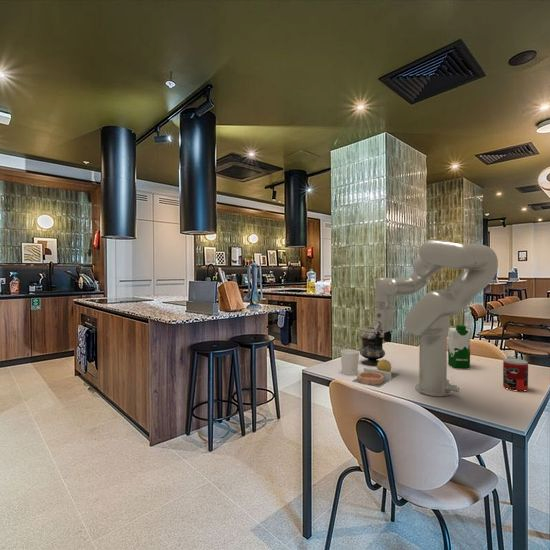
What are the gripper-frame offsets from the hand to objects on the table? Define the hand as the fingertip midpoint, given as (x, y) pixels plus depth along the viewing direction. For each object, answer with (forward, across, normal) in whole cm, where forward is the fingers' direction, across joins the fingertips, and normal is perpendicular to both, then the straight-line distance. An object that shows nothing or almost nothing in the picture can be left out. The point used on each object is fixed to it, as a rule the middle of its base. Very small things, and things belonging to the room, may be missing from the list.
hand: (383, 343), depth 155 cm
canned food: (+13, +14, -48) cm, 51 cm away
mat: (+13, -8, -1) cm, 16 cm away
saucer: (+13, -14, -1) cm, 20 cm away
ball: (+13, 0, -1) cm, 13 cm away
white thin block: (+13, -8, -1) cm, 16 cm away
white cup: (+14, -9, +11) cm, 20 cm away
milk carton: (+14, +33, -24) cm, 43 cm away
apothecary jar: (+14, +12, +10) cm, 21 cm away
